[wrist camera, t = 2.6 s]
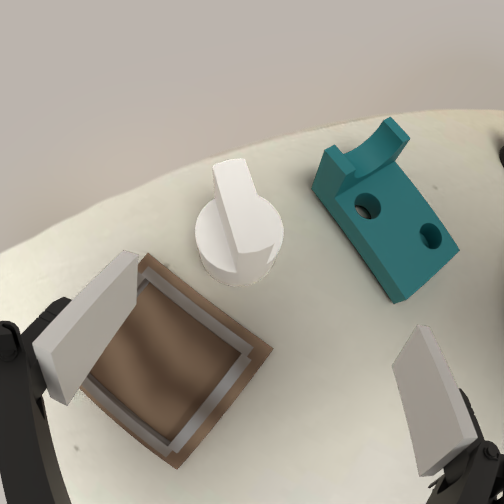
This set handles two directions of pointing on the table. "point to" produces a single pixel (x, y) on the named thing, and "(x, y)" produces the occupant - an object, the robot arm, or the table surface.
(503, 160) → the pen holder
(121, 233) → the table surface
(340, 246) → the table surface
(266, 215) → the cylinder with rectangular tab
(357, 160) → the teal l-shaped bracket
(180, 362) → the plate
